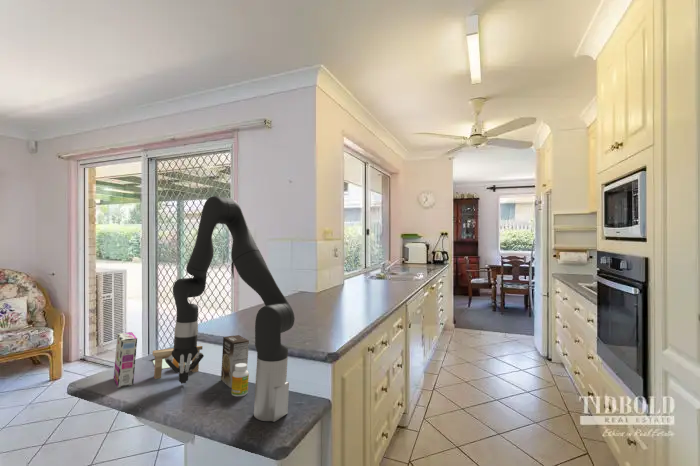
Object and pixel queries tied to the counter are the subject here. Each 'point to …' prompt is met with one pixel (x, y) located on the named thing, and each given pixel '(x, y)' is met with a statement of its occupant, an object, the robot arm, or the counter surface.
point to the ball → (176, 363)
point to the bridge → (158, 360)
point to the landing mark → (163, 364)
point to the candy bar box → (125, 359)
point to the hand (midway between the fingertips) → (183, 382)
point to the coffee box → (233, 356)
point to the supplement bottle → (240, 380)
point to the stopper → (166, 356)
